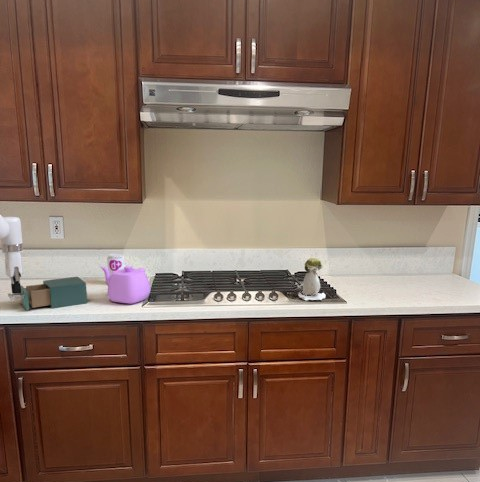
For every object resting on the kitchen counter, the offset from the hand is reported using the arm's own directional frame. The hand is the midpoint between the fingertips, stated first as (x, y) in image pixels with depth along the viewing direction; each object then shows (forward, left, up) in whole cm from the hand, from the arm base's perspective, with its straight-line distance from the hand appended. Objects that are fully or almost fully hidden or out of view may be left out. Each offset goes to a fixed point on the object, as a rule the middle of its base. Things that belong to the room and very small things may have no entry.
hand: (16, 292), depth 188 cm
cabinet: (+18, -6, -7) cm, 20 cm away
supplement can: (+51, 0, -7) cm, 51 cm away
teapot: (+37, -24, -7) cm, 45 cm away
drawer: (+6, -2, -6) cm, 9 cm away
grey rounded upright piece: (+92, -87, -7) cm, 126 cm away
